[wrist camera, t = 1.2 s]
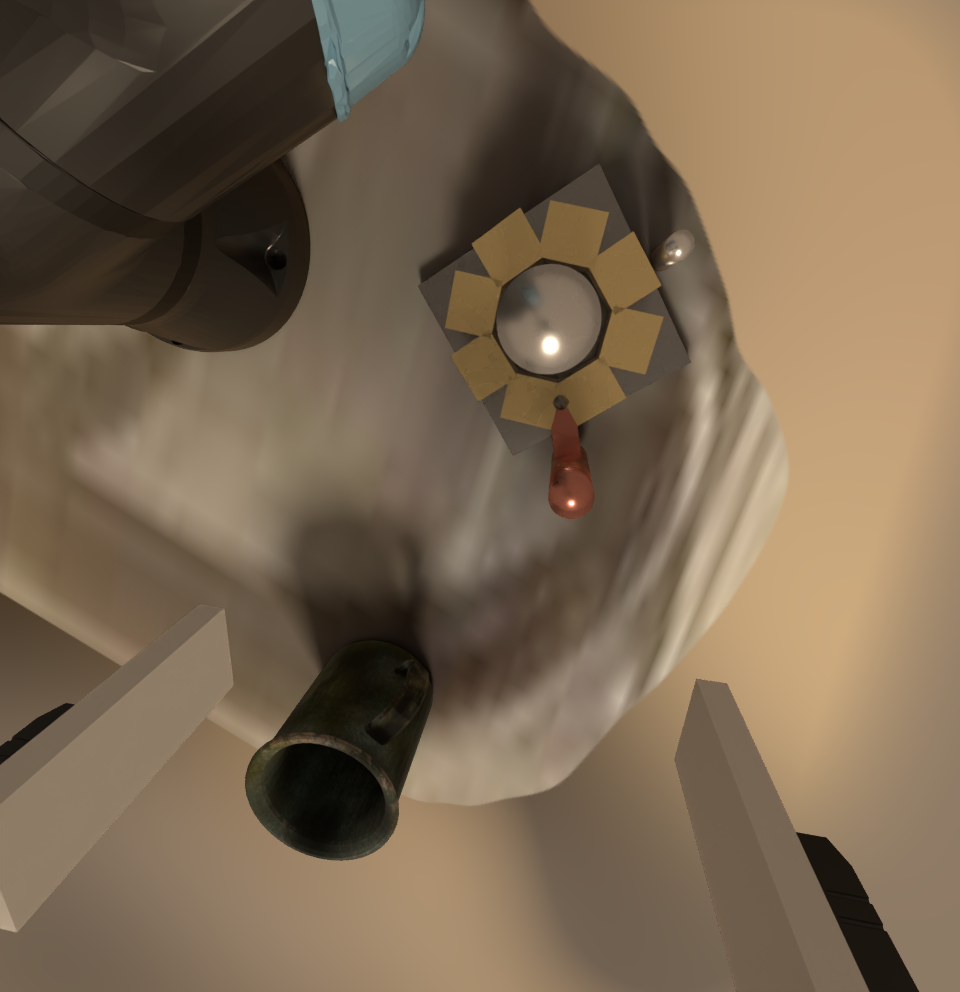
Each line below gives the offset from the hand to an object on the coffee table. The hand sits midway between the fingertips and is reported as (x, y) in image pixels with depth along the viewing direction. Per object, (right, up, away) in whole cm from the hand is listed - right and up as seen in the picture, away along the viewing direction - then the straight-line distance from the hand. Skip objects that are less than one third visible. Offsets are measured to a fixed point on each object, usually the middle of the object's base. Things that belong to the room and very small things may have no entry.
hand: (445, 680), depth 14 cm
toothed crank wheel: (+6, +14, +19) cm, 24 cm away
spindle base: (+6, +17, +20) cm, 26 cm away
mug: (-7, -11, +31) cm, 33 cm away
